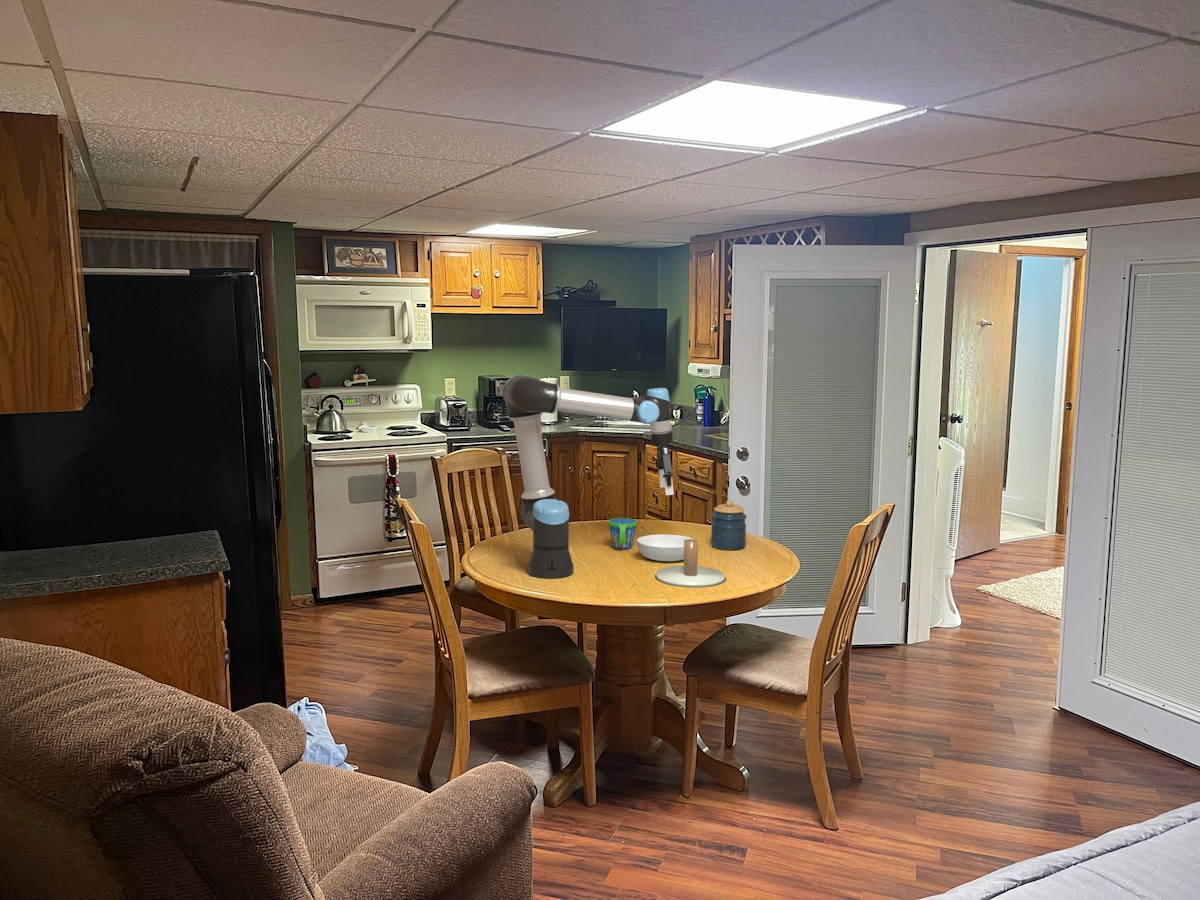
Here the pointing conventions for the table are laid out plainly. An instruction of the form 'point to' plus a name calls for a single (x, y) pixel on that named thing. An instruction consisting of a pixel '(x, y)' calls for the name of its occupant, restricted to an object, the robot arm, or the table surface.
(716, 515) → the canister
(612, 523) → the snack cup
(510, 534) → the table surface
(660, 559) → the serving bowl
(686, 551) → the lid
